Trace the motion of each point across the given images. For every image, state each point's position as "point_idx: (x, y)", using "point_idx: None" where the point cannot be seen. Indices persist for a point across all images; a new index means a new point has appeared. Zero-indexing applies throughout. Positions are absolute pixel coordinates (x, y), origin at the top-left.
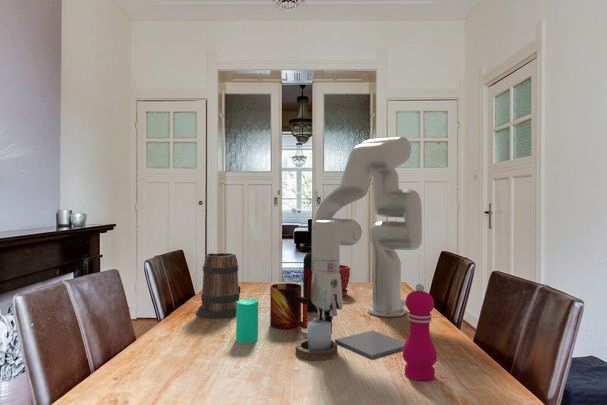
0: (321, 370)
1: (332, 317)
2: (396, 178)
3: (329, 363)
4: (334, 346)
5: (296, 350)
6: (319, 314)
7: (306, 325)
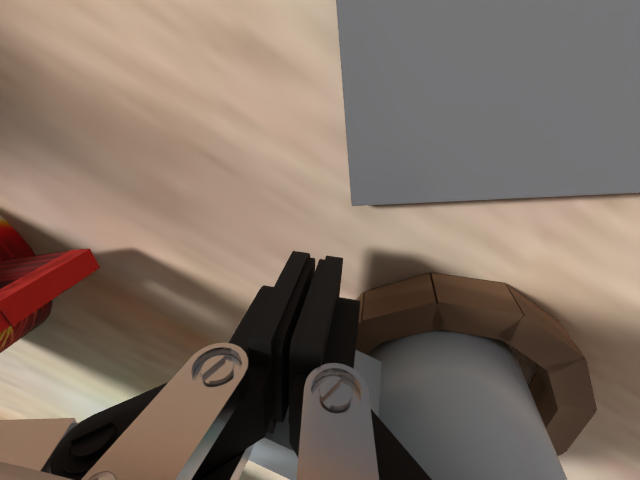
0: (637, 464)
1: (368, 409)
2: None
3: (609, 406)
4: (545, 354)
5: None
6: (233, 476)
7: (75, 265)
